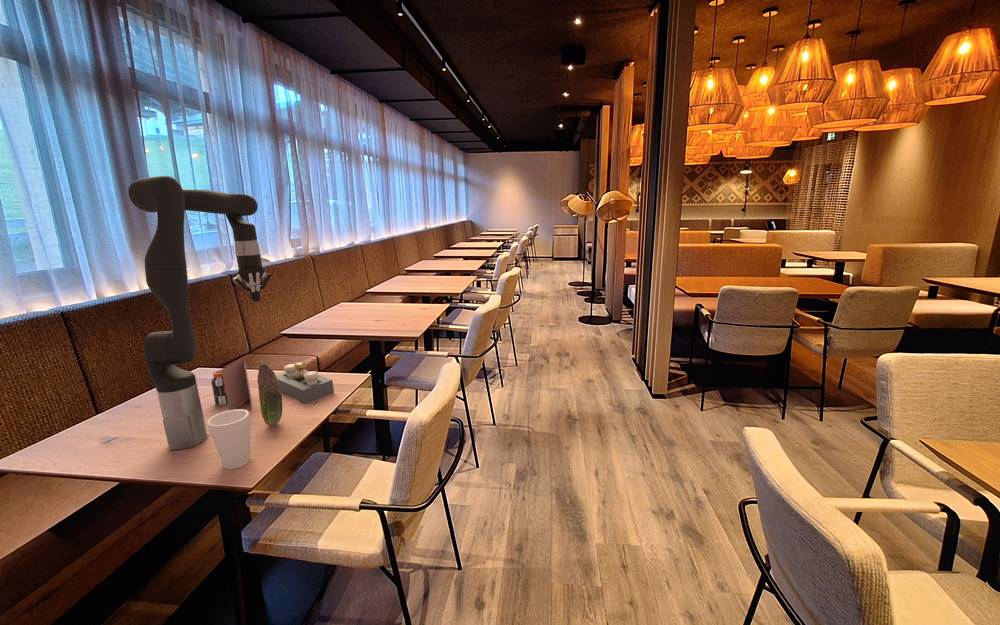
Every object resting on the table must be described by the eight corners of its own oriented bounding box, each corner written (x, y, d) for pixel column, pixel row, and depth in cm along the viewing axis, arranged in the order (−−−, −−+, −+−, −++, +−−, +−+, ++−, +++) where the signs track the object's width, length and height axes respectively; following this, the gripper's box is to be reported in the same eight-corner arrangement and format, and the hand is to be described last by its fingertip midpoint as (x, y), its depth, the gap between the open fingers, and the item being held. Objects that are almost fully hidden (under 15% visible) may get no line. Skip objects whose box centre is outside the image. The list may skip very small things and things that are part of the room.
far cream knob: (302, 383, 168) (299, 365, 166) (290, 387, 164) (287, 369, 162) (296, 380, 170) (293, 363, 169) (284, 384, 167) (281, 366, 165)
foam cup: (263, 452, 123) (255, 408, 120) (246, 471, 114) (237, 425, 111) (228, 453, 122) (220, 410, 119) (208, 473, 113) (198, 426, 110)
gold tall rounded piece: (309, 379, 163) (307, 362, 161) (300, 383, 160) (297, 365, 158) (304, 377, 165) (301, 360, 163) (294, 380, 162) (292, 363, 161)
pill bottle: (228, 405, 153) (222, 374, 151) (211, 405, 154) (205, 374, 151) (238, 398, 159) (233, 368, 157) (222, 398, 159) (216, 368, 157)
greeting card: (249, 397, 159) (241, 357, 156) (268, 397, 159) (261, 357, 155) (227, 412, 148) (218, 369, 145) (248, 412, 148) (240, 369, 144)
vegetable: (262, 422, 140) (252, 362, 135) (284, 417, 143) (275, 358, 138) (264, 430, 135) (253, 368, 130) (287, 424, 138) (277, 363, 133)
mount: (334, 392, 161) (332, 379, 160) (305, 403, 152) (303, 390, 151) (302, 380, 174) (300, 367, 173) (274, 389, 166) (272, 376, 165)
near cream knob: (322, 391, 159) (320, 372, 158) (310, 396, 156) (308, 376, 154) (316, 388, 162) (313, 370, 160) (304, 393, 158) (301, 374, 157)
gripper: (232, 256, 149) (241, 306, 153) (272, 252, 159) (279, 299, 163) (223, 255, 154) (232, 304, 158) (262, 251, 164) (269, 297, 168)
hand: (256, 301), depth 161 cm, fingers closed
